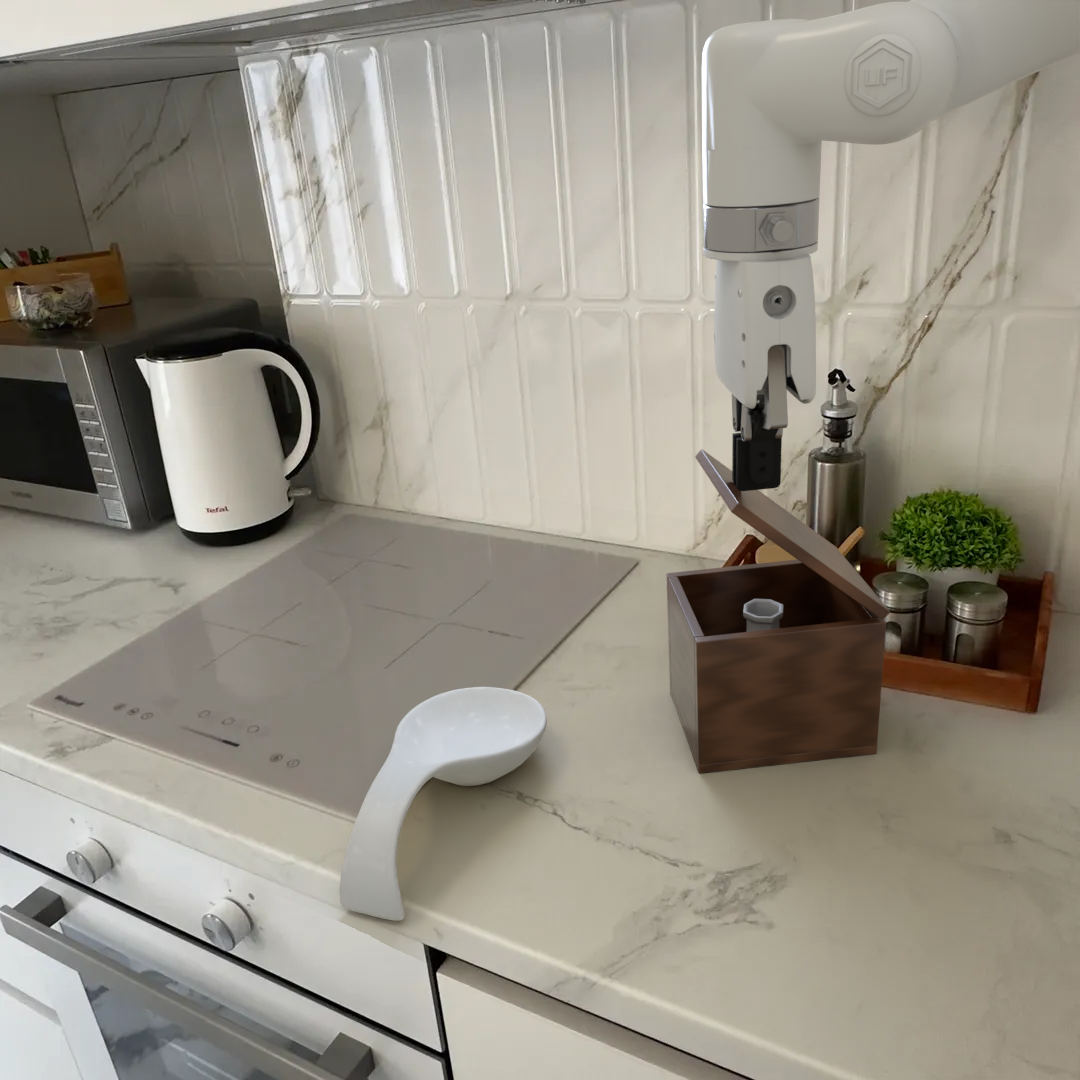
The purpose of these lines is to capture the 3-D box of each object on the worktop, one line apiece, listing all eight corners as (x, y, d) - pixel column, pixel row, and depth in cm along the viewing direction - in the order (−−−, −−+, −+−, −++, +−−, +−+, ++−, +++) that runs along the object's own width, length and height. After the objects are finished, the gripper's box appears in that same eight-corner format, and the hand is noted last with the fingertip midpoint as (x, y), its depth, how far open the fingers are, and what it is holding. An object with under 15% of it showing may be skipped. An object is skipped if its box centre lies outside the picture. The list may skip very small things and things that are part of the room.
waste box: (698, 773, 76) (696, 642, 71) (669, 691, 86) (666, 572, 82) (876, 753, 76) (886, 622, 71) (826, 674, 87) (832, 555, 82)
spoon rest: (442, 710, 87) (432, 640, 84) (568, 727, 83) (562, 655, 80) (298, 905, 67) (278, 822, 64) (455, 940, 63) (442, 854, 60)
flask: (818, 701, 82) (823, 596, 78) (789, 749, 76) (792, 638, 72) (737, 681, 86) (737, 580, 81) (703, 725, 80) (702, 619, 76)
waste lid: (730, 512, 67) (738, 502, 67) (694, 456, 77) (701, 448, 77) (883, 620, 71) (891, 612, 71) (829, 554, 82) (835, 546, 82)
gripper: (856, 239, 58) (840, 520, 66) (782, 213, 72) (776, 448, 80) (732, 250, 58) (731, 531, 66) (681, 222, 72) (685, 457, 79)
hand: (756, 485), depth 73 cm, fingers closed
